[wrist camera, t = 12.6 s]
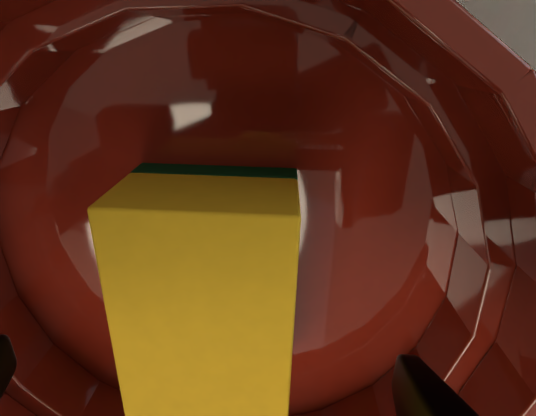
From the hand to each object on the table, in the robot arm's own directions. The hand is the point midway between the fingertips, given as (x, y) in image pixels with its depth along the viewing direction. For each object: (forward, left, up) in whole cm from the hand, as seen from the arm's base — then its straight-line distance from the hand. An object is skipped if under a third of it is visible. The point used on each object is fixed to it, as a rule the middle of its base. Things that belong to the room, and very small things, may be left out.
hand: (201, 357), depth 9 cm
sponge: (0, 0, -4) cm, 4 cm away
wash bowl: (0, 0, -5) cm, 5 cm away
